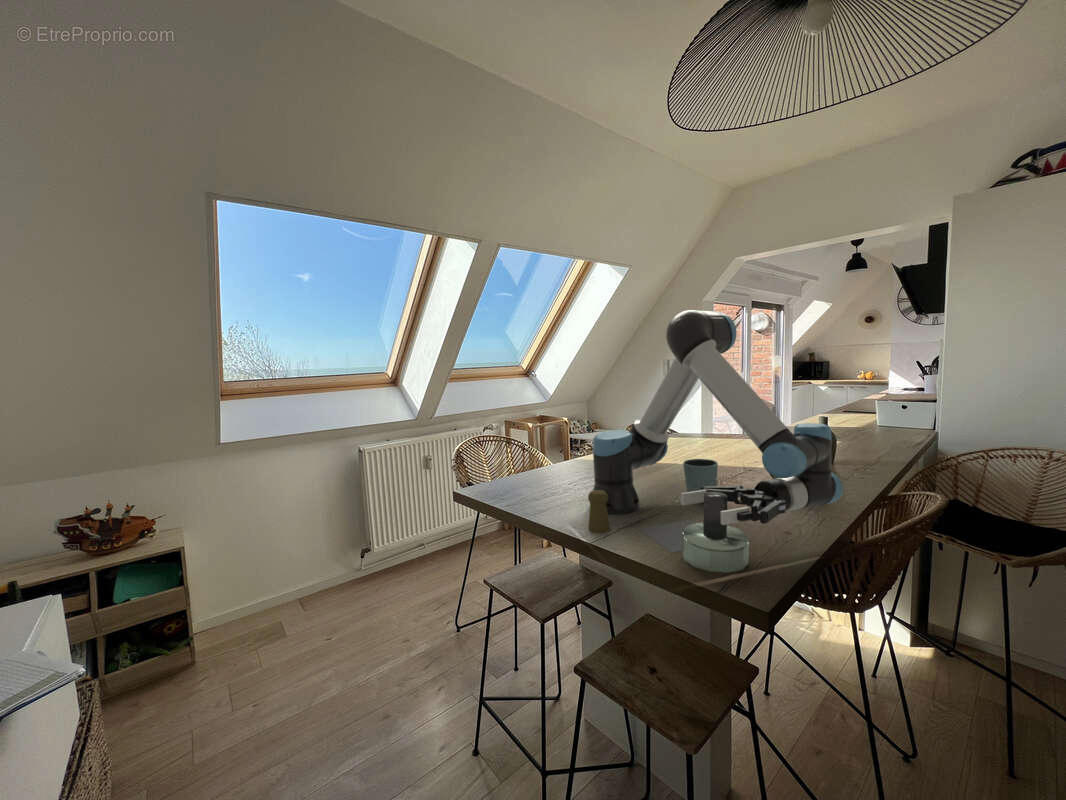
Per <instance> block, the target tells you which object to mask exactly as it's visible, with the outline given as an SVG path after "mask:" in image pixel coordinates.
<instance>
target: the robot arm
mask: <svg viewBox="0 0 1066 800" xmlns="http://www.w3.org/2000/svg"><path fill="white" fill-rule="evenodd" d="M737 331H738V330H737V329H736V324H735V322H734V320H733V319H732V318H731V317H730V316H729V315H727V314H726V313H724V312H719V311H717V310H709V311H708V310H694V309H688V310H684V311H681V312H679V313H678V314H676V315H675V316H674V317H672V319H671V320H670V322H669V323H668V325H667V328H666V333H665V335H666V336H665V337H666V338H665V339H666V343H667V345H668V348H669V349H670V351H671V353H672V354H673V356H674V357H675V358H674V359H673V361H672V363H671V365H670V367H669V369H668V371H667V372H666V374H665V376H664V378H663V380H662V382H661V383H660V385H659V387H658V389H657V390H656V392H655V394H654V395H653V397H652V400H651V402H650V403H649V405H648V407H647V409H646V410H645V413H644V414H643V416H642V417H641V418H637V419H636V420H635V421H634V422H633V424H632V426H631V427H630V428H629V429H630V430H626V429H612V430H606V431H603V432H599V433H598V434H596V435H595V436H594V438H593V439H592V440H593V441H592V442H593V443H592V457H593V473H594V483H593V484H594V485H593V488H592V491H593V490H603V491H605V492H606V493H607V496H608V500H607V502H606V507H607V513H608V516H609V515H610V516H612V515H613V516H614V515H615V516H618V515H619V516H620V515H628V514H632V513H635V512H637V511H639V510H640V509H641V502H640V498H639V496H638V492H637V490H636V487H635V484H634V470H637V469H640V468H643V467H647V466H652V465H655V464H656V463H658V462H660V461H662V460H663V459H664V458H665V456H666V455H667V452H668V448H669V445H668V442H669V441H668V440H669V437H670V436H669V433H668V431H669V430H670V427H671V426H672V424H673V422H674V421H675V419H676V417H677V416H678V414H679V412H680V410H681V409H682V407H683V406H684V404H685V402H686V400H687V399H688V397H689V396H690V394H691V392H692V390H694V387H695V386H696V384H697V382H698V381H699V380H700V382H702V384H703V385H704V386H705V387H706V389H708V391H709V392H710V393H711V395H713V397H714V398H715V399H716V400H717V401H718V402H719V404H720V405H721V406H722V408H723V409H725V410H726V412H727V413H728V415H730V417H731V418H732V419H733V420H734V422H735V423H736V424H737V425H738V426H739V427H740V428H741V430H742V431H743V432H744V433H745V434H746V436H748V439H750V440H751V441H752V442H753V444H754V445H755V446H756V447H757V448H758V450H760V453H761V454H762V456H761V462H762V465H763V468H764V469H765V470H766V472H767V473H768V474H769V473H770V474H771V475H773V476H775V477H778V478H777V479H773V478H771V479H766V480H761V481H759V482H758V483H757V484H756V485H755V487H754V488H751V487H748V488H744V485H740V484H739V485H725V486H724V485H717V486H701V490H699V491H692V492H687V491H686V492H681V493H680V501H681V502H680V504H681V506H689V505H694V504H695V505H696V504H701V503H704V493H706V492H720V493H724V494H726V495H727V502H731V503H734V504H735V505H741V506H742V505H743V507H737V508H731V509H727V510H724V511H721V524H722V525H731V524H737V523H742V522H743V523H744V522H747V521H753V522H757V521H760V522H759V523H761V524H763V525H765V524H768V523H769V522H771V521H772V520H773V519H775V518H776V517H778V515H781V514H785V513H786V512H789V513H791V512H792V511H794V510H799V509H805V508H812V507H822V506H823V507H824V506H826V505H828V504H832V503H835V502H838V501H839V500H840V499H841V497H842V495H843V493H844V488H843V487H844V486H843V484H842V483H841V479H840V478H839V476H837V474H834V473H833V472H832V445H833V439H832V429H831V427H830V426H829V425H828V424H823V423H818V422H817V423H816V422H815V423H813V422H812V423H811V422H807V423H806V422H804V423H797V424H795V426H794V428H793V432H791V430H790V429H789V428H788V427H787V426H786V425H785V424H784V423H783V422H782V420H781V419H780V418H779V417H778V416H777V415H776V414H775V412H774V411H773V410H772V409H771V408H770V407H769V405H767V404H766V402H764V400H763V398H761V397H760V396H759V395H758V393H757V392H756V391H755V390H754V389H753V388H752V387H751V385H750V384H748V383H747V381H746V380H745V379H744V378H743V377H742V376H741V375H740V374H739V372H737V370H736V369H735V368H734V367H733V366H732V365H731V364H730V362H728V360H727V359H726V358H725V357H724V356H723V355H722V354H723V353H724V354H725V353H726V352H727V351H729V350H730V349H732V347H733V346H734V344H735V342H736V340H737ZM770 474H769V475H770ZM739 499H740V500H739ZM590 504H591V503H590V502H589V505H590Z"/></svg>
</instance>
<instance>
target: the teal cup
mask: <svg viewBox="0 0 1066 800" xmlns="http://www.w3.org/2000/svg"><path fill="white" fill-rule="evenodd" d="M682 464H683V471H684V480H685V486H686V492H692V491H699V490H701V486H718V485H717V483H718V480H717V478H718V467H719V463H718V461H716V460H713V459H710V458H709V459H708V458H707V459H706V458H692V459H686V460H684V461H683V463H682Z"/></svg>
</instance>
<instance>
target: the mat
mask: <svg viewBox="0 0 1066 800" xmlns="http://www.w3.org/2000/svg"><path fill="white" fill-rule="evenodd" d="M695 523H696V522H693V521H692V520H691V519H690V520H689V519H687V520H680V521H675V522H668V523H663V524H658V525H657V524H656V525H652V526H645V527H639V528H636V530H637V531H639V532H640V533H642V534H644V535H645V536H646V537H647V538H649V539H651V540H652V541H653V542H655V543H656V544H657V545H659V546H661V548H664V549H665V550H667V552H669V553H672V554H673V553H677V552H683V531H684V529H685V527H687V526H689V525H691V524H695Z"/></svg>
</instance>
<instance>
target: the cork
mask: <svg viewBox="0 0 1066 800" xmlns="http://www.w3.org/2000/svg"><path fill="white" fill-rule="evenodd" d="M587 498H588V499H587V500H588V502H589V517H588V528H587V529H588V531H589V532H591V533H595V534H605V533H608V532H610V531H611V526H610V525H611V524H610V519H609V514H608V513H607V507H606V502H607V500H608V496H607V493H606V492H605V491H603V490H593V489H592V491H590V492H589V493H588V495H587ZM590 503H591V504H590Z"/></svg>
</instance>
